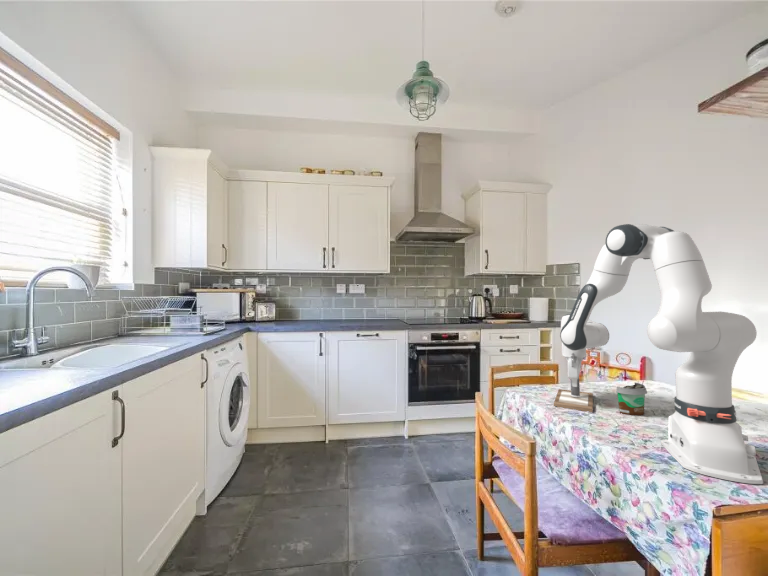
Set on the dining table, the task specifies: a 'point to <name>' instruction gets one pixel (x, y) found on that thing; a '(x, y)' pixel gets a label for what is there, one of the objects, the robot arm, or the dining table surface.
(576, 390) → the marker
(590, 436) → the dining table surface
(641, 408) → the food container
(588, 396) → the writing board
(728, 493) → the dining table surface
